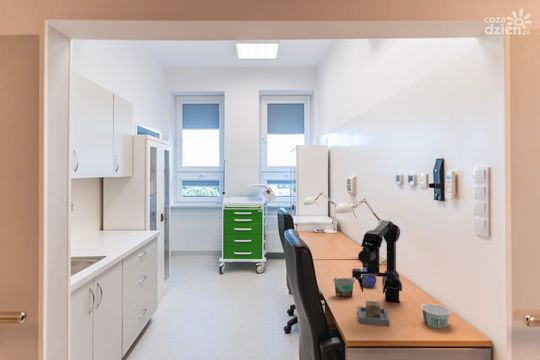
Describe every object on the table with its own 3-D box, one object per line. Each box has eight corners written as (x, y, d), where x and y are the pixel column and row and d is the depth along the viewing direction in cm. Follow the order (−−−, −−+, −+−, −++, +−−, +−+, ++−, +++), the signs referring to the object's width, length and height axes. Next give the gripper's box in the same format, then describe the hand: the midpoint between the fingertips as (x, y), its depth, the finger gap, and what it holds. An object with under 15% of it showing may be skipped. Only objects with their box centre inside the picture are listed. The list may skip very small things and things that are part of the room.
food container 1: (338, 299, 173) (338, 281, 173) (333, 295, 179) (333, 277, 179) (359, 297, 176) (359, 279, 176) (353, 293, 182) (353, 275, 182)
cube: (379, 314, 153) (379, 301, 153) (380, 319, 147) (380, 306, 147) (365, 313, 154) (365, 300, 154) (366, 318, 148) (366, 305, 148)
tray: (385, 313, 155) (385, 308, 155) (389, 325, 143) (389, 320, 143) (357, 311, 158) (357, 306, 158) (358, 322, 146) (358, 317, 146)
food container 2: (441, 317, 152) (441, 303, 152) (456, 329, 140) (456, 314, 140) (415, 317, 151) (415, 303, 151) (429, 329, 139) (429, 314, 139)
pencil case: (362, 277, 213) (362, 262, 213) (375, 278, 211) (376, 263, 211) (361, 287, 192) (361, 271, 192) (376, 289, 190) (376, 273, 190)
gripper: (391, 256, 156) (391, 288, 156) (351, 254, 160) (351, 285, 160) (395, 261, 145) (395, 296, 145) (352, 259, 150) (352, 293, 150)
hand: (372, 292), depth 151 cm, fingers open, 9 cm apart
